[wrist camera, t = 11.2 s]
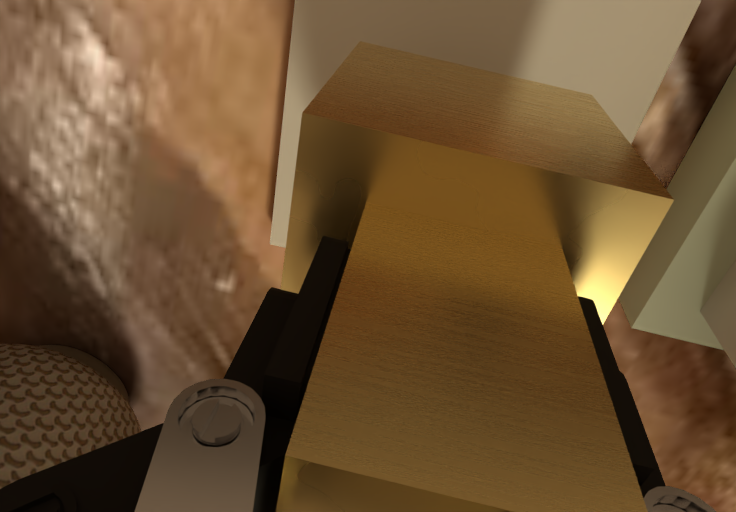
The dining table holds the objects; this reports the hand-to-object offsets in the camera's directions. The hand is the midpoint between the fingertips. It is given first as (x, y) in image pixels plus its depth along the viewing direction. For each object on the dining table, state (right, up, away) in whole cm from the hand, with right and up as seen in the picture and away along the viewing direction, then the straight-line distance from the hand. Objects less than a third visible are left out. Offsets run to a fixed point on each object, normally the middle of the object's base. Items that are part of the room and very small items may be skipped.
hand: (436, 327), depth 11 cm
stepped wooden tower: (+1, +4, +7) cm, 8 cm away
